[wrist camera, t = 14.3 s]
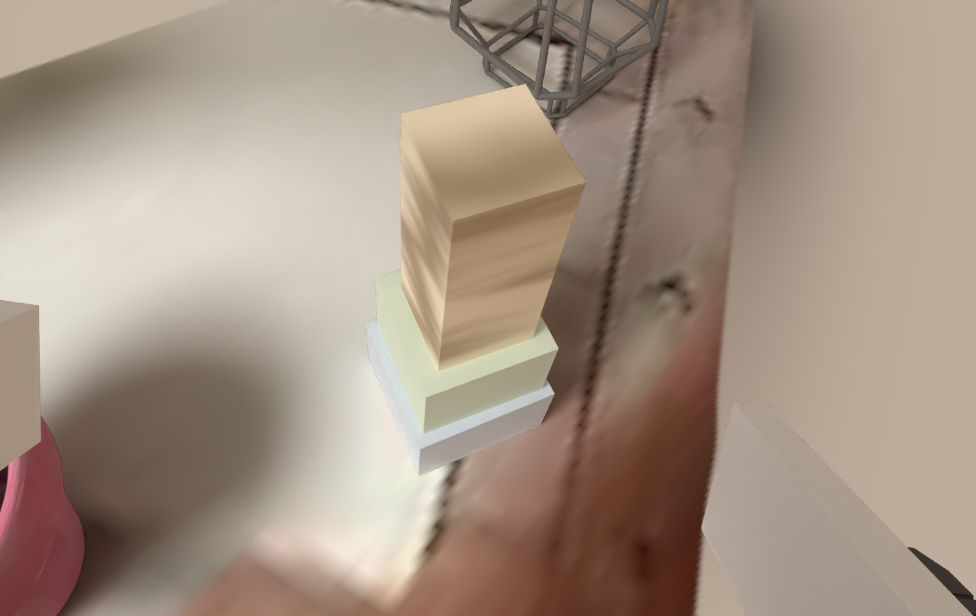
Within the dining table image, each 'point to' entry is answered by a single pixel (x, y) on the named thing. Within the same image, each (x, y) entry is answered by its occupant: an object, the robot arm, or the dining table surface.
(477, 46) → the geometric lantern
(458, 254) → the pillar
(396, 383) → the tower base
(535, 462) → the dining table surface
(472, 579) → the dining table surface
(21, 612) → the plant pot
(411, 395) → the tower top
